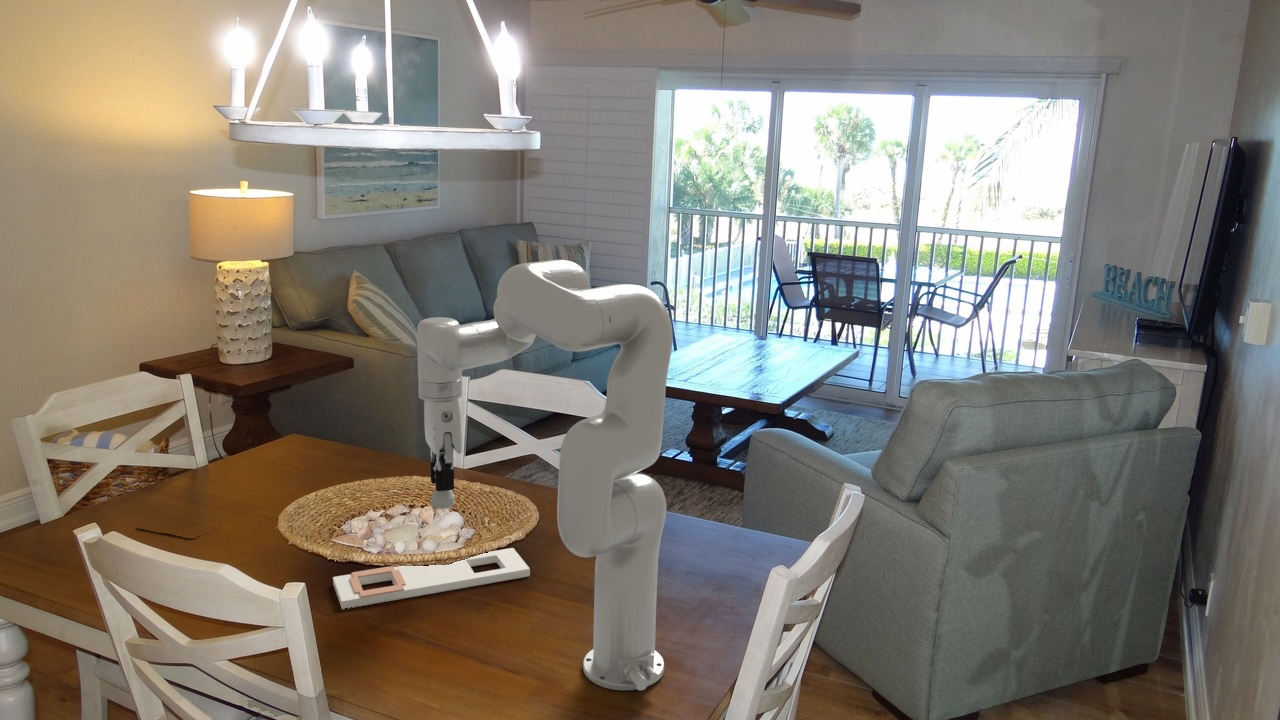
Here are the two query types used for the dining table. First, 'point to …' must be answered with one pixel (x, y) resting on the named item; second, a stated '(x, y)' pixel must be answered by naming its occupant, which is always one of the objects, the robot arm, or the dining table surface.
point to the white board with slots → (427, 578)
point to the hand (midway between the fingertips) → (442, 485)
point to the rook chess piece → (442, 497)
